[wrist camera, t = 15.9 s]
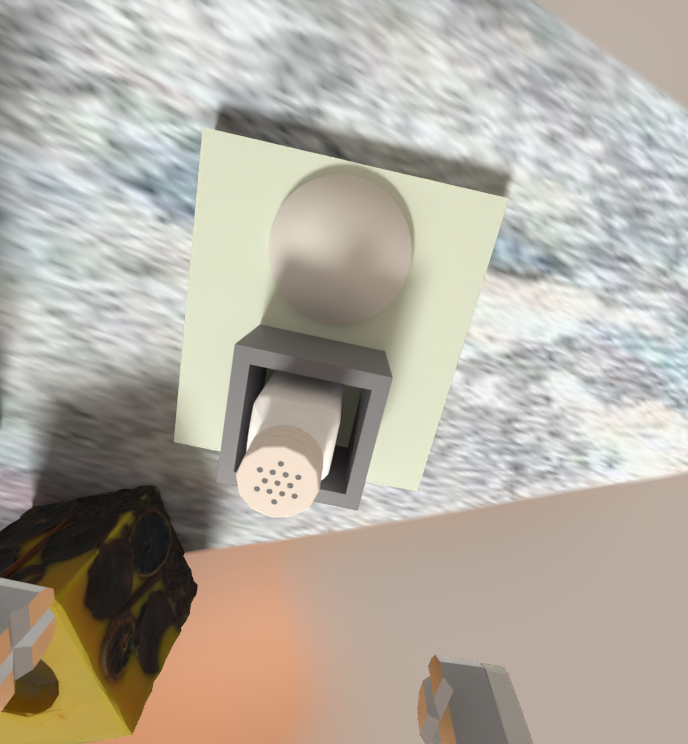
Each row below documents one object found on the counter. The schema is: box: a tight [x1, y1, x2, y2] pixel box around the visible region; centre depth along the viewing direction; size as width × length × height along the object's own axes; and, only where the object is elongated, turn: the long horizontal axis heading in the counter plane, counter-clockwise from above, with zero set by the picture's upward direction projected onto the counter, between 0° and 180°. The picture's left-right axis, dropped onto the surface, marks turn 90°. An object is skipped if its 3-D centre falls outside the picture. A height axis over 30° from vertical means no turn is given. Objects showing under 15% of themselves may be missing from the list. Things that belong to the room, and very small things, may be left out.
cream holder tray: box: [174, 127, 509, 510], centre depth 21 cm, size 18×16×6 cm
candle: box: [0, 486, 197, 744], centre depth 25 cm, size 10×10×10 cm
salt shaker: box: [236, 370, 344, 517], centre depth 19 cm, size 4×4×10 cm
